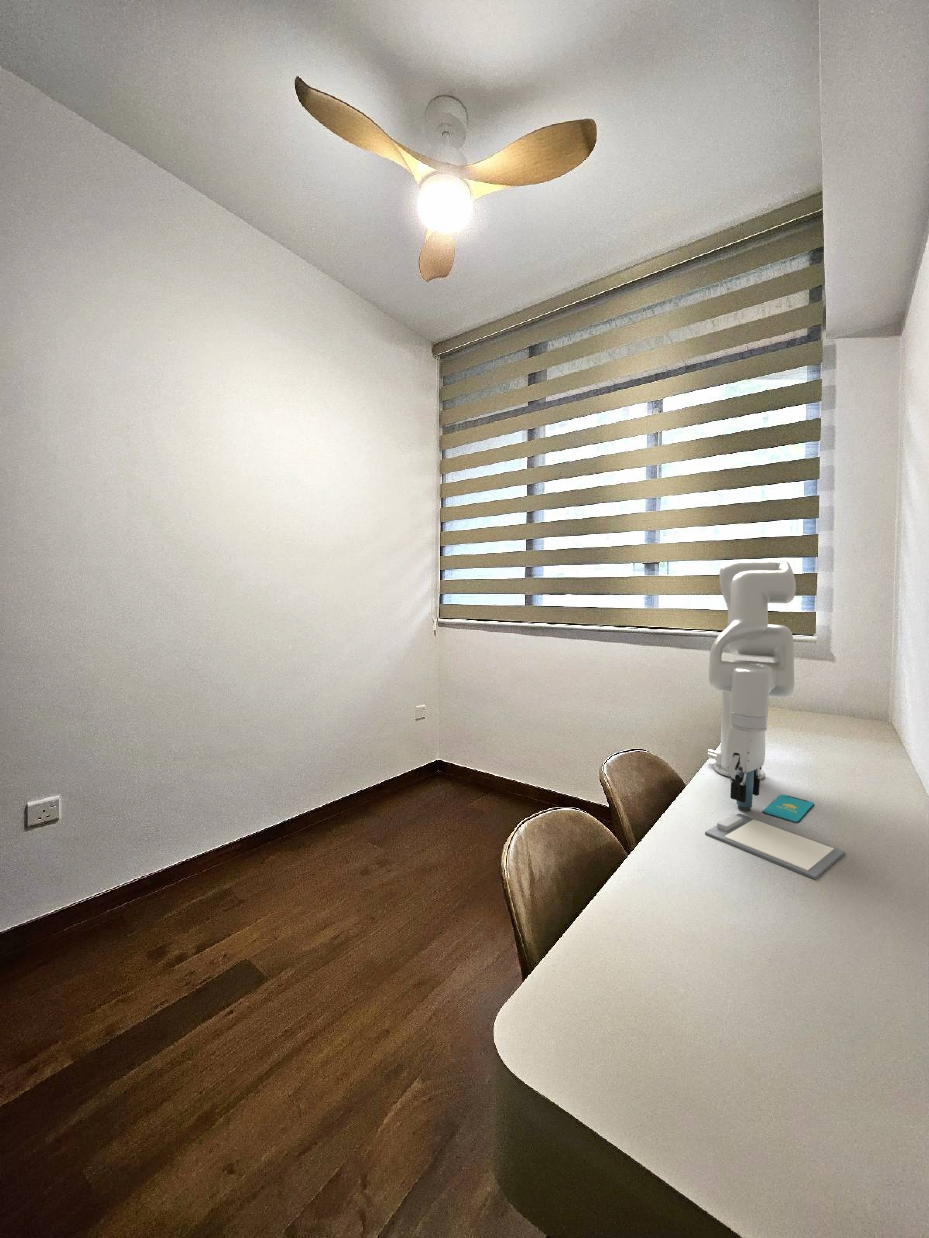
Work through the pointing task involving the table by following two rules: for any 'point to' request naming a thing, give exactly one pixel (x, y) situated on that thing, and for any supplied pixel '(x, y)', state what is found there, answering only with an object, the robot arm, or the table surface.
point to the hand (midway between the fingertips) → (744, 796)
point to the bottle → (747, 791)
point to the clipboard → (776, 844)
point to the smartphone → (788, 808)
